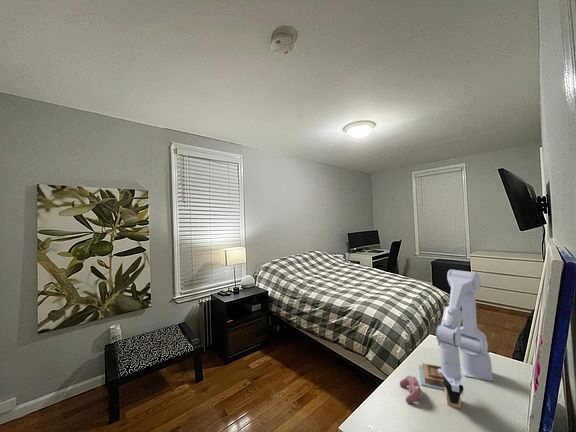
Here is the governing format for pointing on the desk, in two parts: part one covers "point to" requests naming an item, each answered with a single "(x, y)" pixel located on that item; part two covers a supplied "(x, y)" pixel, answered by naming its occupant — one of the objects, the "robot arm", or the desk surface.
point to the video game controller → (412, 388)
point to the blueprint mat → (427, 383)
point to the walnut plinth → (432, 375)
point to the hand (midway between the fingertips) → (452, 398)
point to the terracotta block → (449, 400)
